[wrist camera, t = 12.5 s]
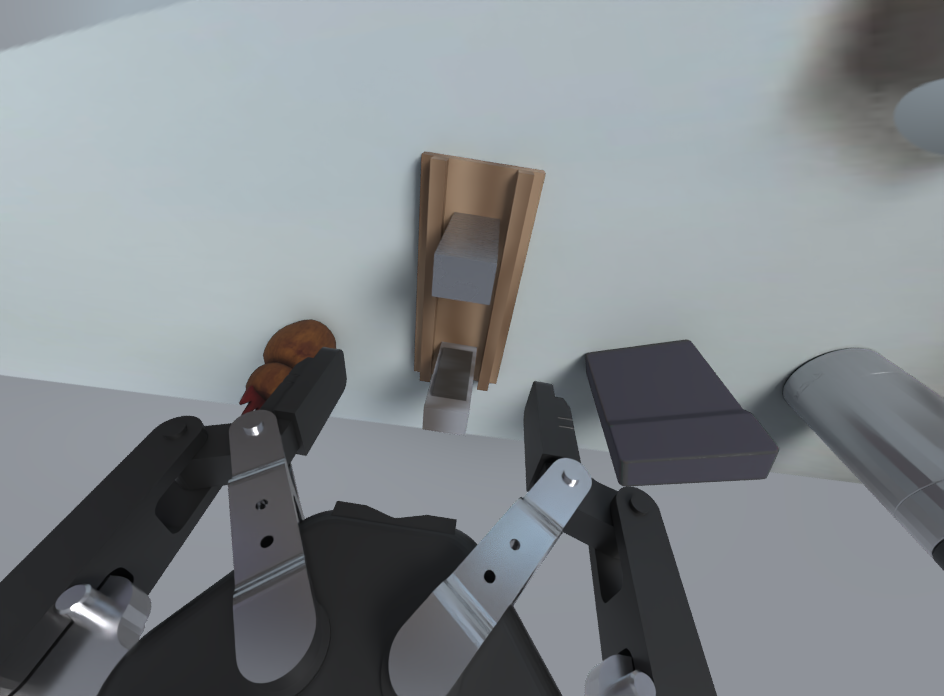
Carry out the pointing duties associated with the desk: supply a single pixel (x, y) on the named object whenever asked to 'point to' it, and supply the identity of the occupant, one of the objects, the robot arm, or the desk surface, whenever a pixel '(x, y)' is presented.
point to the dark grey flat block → (674, 418)
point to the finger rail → (459, 322)
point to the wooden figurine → (285, 358)
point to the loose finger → (467, 259)
